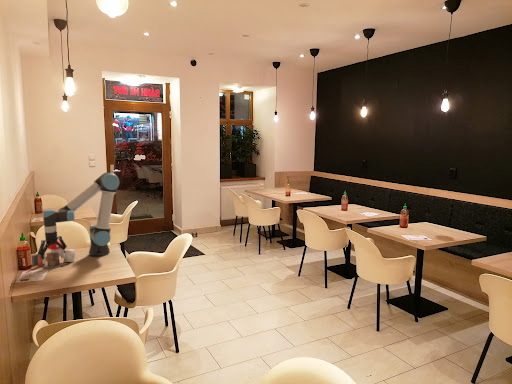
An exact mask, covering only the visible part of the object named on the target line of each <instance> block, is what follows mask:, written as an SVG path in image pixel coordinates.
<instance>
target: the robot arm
mask: <svg viewBox="0 0 512 384" xmlns="http://www.w3.org/2000/svg"><path fill="white" fill-rule="evenodd" d="M119 186H120V179H119V177H118V176H117V175H116V174H115V173H112V172H103V174H101V175H100V176H99V177H98V178H96V179H95V180H94V181H93V183H92V184H91V185H89V187H87V188H86V189H85V190H84V191H82V192H81V193H79V194H78V195H77V196H76V197H74V198H73V199H72V200H71V201H69V202H68V203H67V204H66V205H64V206H63V207H60V208H59V209H58V210H57V211H56V210H55V209H49V208H48V209H45V210H43V211H42V220H43V226H44V228H43V229H44V236H45V240H43V239H42V240H41V241H40V245H39V248H38V251H37V254H39V255H41V259H42V260H43V264H45V265H47V256H46V254H44V253H46V252H47V250H48V247H49V246H50V245H53V244H57V245H58V246H59V247H60V248H61V249H60V252H61V256H60V258H61V259H64V253H65V250H66V249H67V247H68V245H67V244H66V242H65V241H64V240H63V237H62V236H60V235H58V231H57V230H58V229H57V228H58V227H57V223H65V222H72V221H75V212H76V211H77V210H78V209H79V208H81V207H82V206H83V205H84V204H86V203H87V202H88V201H90V200H91V199H92V198H94V197H95V196H96V195H97V194H98V193H100V192H101V197H100V202H99V209H98V214H97V215H98V216H97V221H96V224H95V225H90V226H89V241H90V247H89V250H88V256H89V257H103V256H107V255H108V254H110V251H111V249H110V247H109V245H108V244H109V243H110V241H111V229H112V227H111V226H110V224H111V223H110V221H111V216H112V208H113V203H114V197H115V194H117V193H118V192H117V191H118V188H119ZM58 241H60V242H61V244H62V245H63V246H62V245H61V244H60V243H59V242H58Z"/></svg>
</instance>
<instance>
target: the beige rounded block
mask: <svg viewBox="0 0 512 384" xmlns="http://www.w3.org/2000/svg"><path fill="white" fill-rule="evenodd" d="M64 250H65V253H64V258H63V262H65V263H66V262H67V263H68V262H70V263H71V262H75V258H76V249H71V248H69V249H67V248H65V249H64Z"/></svg>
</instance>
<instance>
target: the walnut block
mask: <svg viewBox="0 0 512 384" xmlns="http://www.w3.org/2000/svg"><path fill="white" fill-rule="evenodd" d="M60 263H61V262H60V256H59V252H55V251H53V252H51V251H50V252H47V253H46V264H48V266H51V267H53V266H57V265H60Z"/></svg>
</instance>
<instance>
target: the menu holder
mask: <svg viewBox="0 0 512 384" xmlns="http://www.w3.org/2000/svg"><path fill="white" fill-rule="evenodd" d="M45 253H46V252H45ZM45 253H44V254H45ZM45 255H46V254H45ZM38 256H39V254H38V253H36V254H32V255H31V256H30V257H31V265H32V266H39V265H38Z"/></svg>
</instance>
